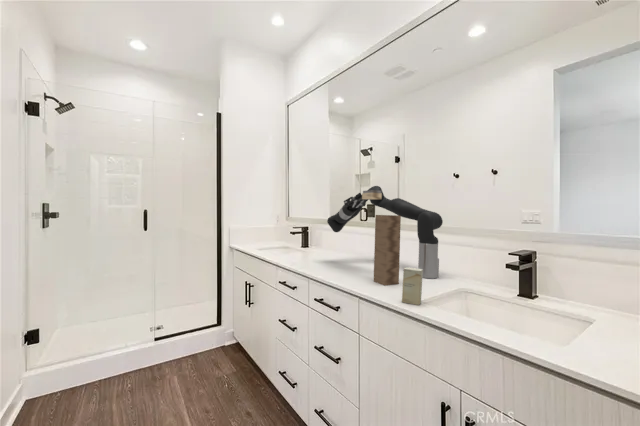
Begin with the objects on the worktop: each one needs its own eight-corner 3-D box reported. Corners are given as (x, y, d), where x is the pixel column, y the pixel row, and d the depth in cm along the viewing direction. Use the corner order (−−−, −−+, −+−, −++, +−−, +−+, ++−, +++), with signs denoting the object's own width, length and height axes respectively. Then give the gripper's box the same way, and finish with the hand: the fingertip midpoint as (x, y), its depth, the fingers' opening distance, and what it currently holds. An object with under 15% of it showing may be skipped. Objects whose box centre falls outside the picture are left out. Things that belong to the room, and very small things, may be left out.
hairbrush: (362, 200, 157) (362, 192, 157) (381, 199, 142) (381, 190, 142) (353, 199, 155) (353, 191, 154) (371, 198, 140) (371, 190, 140)
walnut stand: (387, 280, 139) (389, 215, 138) (398, 284, 131) (400, 215, 131) (373, 281, 135) (375, 214, 135) (384, 285, 128) (386, 215, 128)
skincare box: (401, 302, 104) (402, 268, 104) (404, 299, 108) (405, 266, 108) (420, 305, 101) (421, 270, 101) (422, 302, 105) (423, 268, 105)
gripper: (335, 204, 163) (350, 187, 150) (356, 205, 170) (372, 189, 156) (338, 216, 160) (353, 199, 147) (359, 216, 166) (376, 201, 153)
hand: (363, 194), depth 151 cm, fingers closed on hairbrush, 2 cm apart
